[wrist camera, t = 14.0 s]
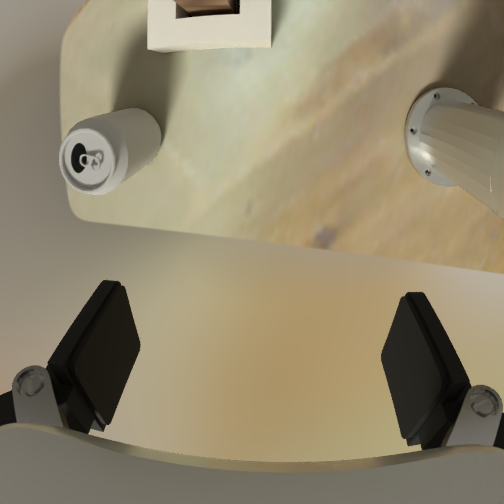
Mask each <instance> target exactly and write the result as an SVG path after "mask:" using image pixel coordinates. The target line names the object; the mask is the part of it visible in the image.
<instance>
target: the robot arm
mask: <svg viewBox="0 0 504 504" xmlns="http://www.w3.org/2000/svg"><path fill="white" fill-rule="evenodd" d="M434 94H435V97H434ZM411 128H412V132H410V130H411ZM405 145H406V150H407V153H408V156H409V159H410V161H411V162H412V164H413V166H414V168H415V169H416V170H417V171H418V172H419V173H420V174H421V175H422V176H423V177H424V178H425V179H427V180H428V181H430V182H432V183H433V184H436V185H439V186H444V187H453V186H457V185H458V186H459V187H460V188H462V189H463V190H465V191H466V192H468V193H469V194H470V195H472V196H473V197H475V198H476V199H477V200H479V201H480V202H481V203H483V204H484V205H485V206H487V207H488V208H489V209H491V210H492V211H493V212H494V213H496V214H497V215H498V216H500V217H501V218H502V219H504V112H503V111H499V110H495V109H491V108H486V107H482V106H478V104H477V103H476V102H475V101H474V100H473V99H472V98H471V97H470V96H469V95H467V94H466V93H464V92H462V91H460V90H457V89H454V88H446V87H440V88H435V89H432V90H430V91H427V92H425V93H424V94H423V95H422V96H420V97H419V98H418V99H417V101H416V102H415V103H414V104H413V106H412V108H411V110H410V111H409V114H408V117H407V120H406V125H405ZM426 170H427V171H426ZM425 171H426V172H425ZM139 351H140V340H139V337H138V333H137V330H136V326H135V323H134V319H133V316H132V312H131V308H130V304H129V300H128V297H127V293H126V289H125V287H124V286H121V283H120V282H119V281H109V280H103V281H102V282H101V283H100V285H99V286H98V288H97V289H96V290H95V292H94V293H93V295H92V296H91V297H90V299H89V300H88V302H87V303H86V304H85V306H84V307H83V309H82V310H81V312H80V313H79V315H78V316H77V318H76V319H75V320H74V322H73V323H72V325H71V326H70V328H69V329H68V331H67V333H66V334H65V336H64V337H63V339H62V340H61V342H60V343H59V345H58V346H57V348H56V350H55V352H54V353H53V354H52V356H51V358H50V359H49V361H48V365H47V367H46V369H45V368H43V367H41V366H37V365H33V366H29V367H26V368H24V369H22V370H21V371H20V372H19V373H18V374H17V375H16V377H15V378H14V380H13V383H12V390H11V391H9V392H7V393H4V394H2V395H0V504H504V413H503V412H502V410H503V404H502V400H501V398H500V396H499V394H498V393H497V392H496V391H495V390H494V389H491V388H490V387H488V386H485V385H476V386H473V387H472V386H471V384H470V380H469V378H468V376H467V374H466V371H465V369H464V367H463V365H462V363H461V361H460V359H459V357H458V355H457V353H456V351H455V349H454V347H453V345H452V343H451V341H450V339H449V337H448V335H447V333H446V331H445V330H444V328H443V326H442V324H441V322H440V320H439V319H438V317H437V315H436V313H435V311H434V309H433V308H432V306H431V304H430V302H429V301H428V299H427V297H426V296H425V294H424V293H423V292H408V293H406V295H405V296H403V297H401V299H400V302H399V305H398V308H397V311H396V314H395V317H394V320H393V323H392V326H391V328H390V331H389V334H388V337H387V339H386V342H385V345H384V347H383V350H382V353H381V361H382V364H383V368H384V371H385V375H386V378H387V382H388V385H389V389H390V393H391V397H392V400H393V404H394V408H395V412H396V415H397V420H398V424H399V428H400V432H401V436H402V437H403V439H406V440H407V445H408V446H413V445H418V444H421V448H422V451H416V452H410V453H403V454H396V455H389V456H381V457H373V458H364V459H353V460H341V461H326V462H256V461H239V460H226V459H216V458H206V457H198V456H190V455H183V454H176V453H170V452H164V451H159V450H153V449H148V448H143V447H138V446H133V445H129V444H124V443H120V442H116V441H112V440H108V439H104V438H100V437H96V436H92V435H89V434H88V433H89V431H90V428H91V429H94V430H98V431H102V432H103V431H104V429H105V426H106V425H109V424H110V423H111V421H112V418H113V416H114V413H115V410H116V408H117V405H118V403H119V400H120V398H121V395H122V393H123V390H124V387H125V385H126V383H127V380H128V378H129V375H130V373H131V370H132V368H133V365H134V363H135V361H136V358H137V356H138V353H139Z"/></svg>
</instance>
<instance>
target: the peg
mask: <svg viewBox="0 0 504 504" xmlns="http://www.w3.org/2000/svg"><path fill="white" fill-rule="evenodd" d="M173 1H175V2H176V3H177V4H178V5H180V6H181V7H182V8H183V9H185V10H186V11H187V12H188V13H190V14H191V15H192V16H193V17H199V16H211V15H228V14H236V2H237V0H173Z"/></svg>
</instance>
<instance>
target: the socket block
mask: <svg viewBox="0 0 504 504" xmlns="http://www.w3.org/2000/svg"><path fill="white" fill-rule="evenodd" d="M238 47H269V48H271V0H240V14H228V15H211V16H199V17H189V18H188V12H187V11H186V10H185V9H183V8H182V7H181V6H180V5H178V4H177V3H176V2H175V1H173V0H148V32H147V49H149V50H153V51H157V52H161V53H167V52H176V51H186V50H198V49H213V48H238Z"/></svg>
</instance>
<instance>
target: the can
mask: <svg viewBox="0 0 504 504" xmlns="http://www.w3.org/2000/svg"><path fill="white" fill-rule="evenodd" d="M161 136H162V135H161V131H160V127H159V125H158V123H157V121H156V120H155V118H154V117H153V116H152V115H150V114H149V113H148V112H147V111H144V110H141V109H139V108H128V109H123V110H119V111H115V112H110V113H106V114H102V115H99V116H95V117H91V118H87V119H85V120H83V121H80V122H78V123H77V124H76V125H75V126H74V127H73V128H72V129H70V131H69V133H68V134H67V136H66V137H65V139H64V141H63V143H62V145H61V148H60V153H59V165H60V169H61V172H62V175H63V177H64V178H65V180H66V181H67V183H68V184H69V185H70V186H71V187H72V188H74V189H75V190H77V191H79V192H81V193H86V194H94V195H102V194H105V193H109V192H111V191H112V190H113V189H115V188H116V187H118V186H119V185H120V184H122V183H123V182H124V181H126V180H127V179H128V178H130V177H131V176H132V175H134V174H135V173H136V172H138V171H139V170H141V169H142V168H143V167H145V166H146V165H148V164H149V163H150V162H152V161H153V159H154V158H155V157H156V156H157V154H158V152H159V149H160V146H161Z"/></svg>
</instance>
